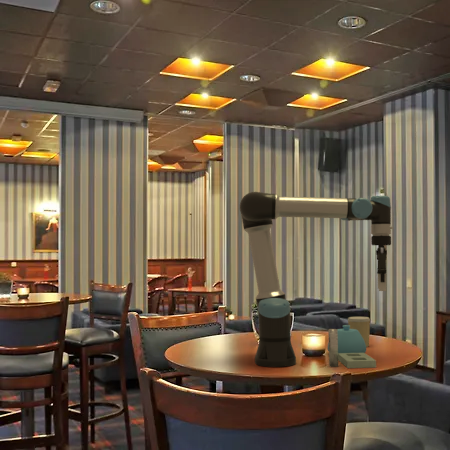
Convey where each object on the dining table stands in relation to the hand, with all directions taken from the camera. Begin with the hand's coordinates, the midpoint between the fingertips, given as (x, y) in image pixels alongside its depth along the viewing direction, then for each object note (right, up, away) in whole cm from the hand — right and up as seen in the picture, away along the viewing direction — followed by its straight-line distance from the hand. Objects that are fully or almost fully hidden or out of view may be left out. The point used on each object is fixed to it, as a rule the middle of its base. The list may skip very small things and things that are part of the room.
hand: (381, 289), depth 233 cm
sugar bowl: (-13, -26, +3) cm, 29 cm away
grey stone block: (-22, -25, -19) cm, 39 cm away
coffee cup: (-4, -27, +22) cm, 35 cm away
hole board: (-13, -25, -15) cm, 32 cm away
